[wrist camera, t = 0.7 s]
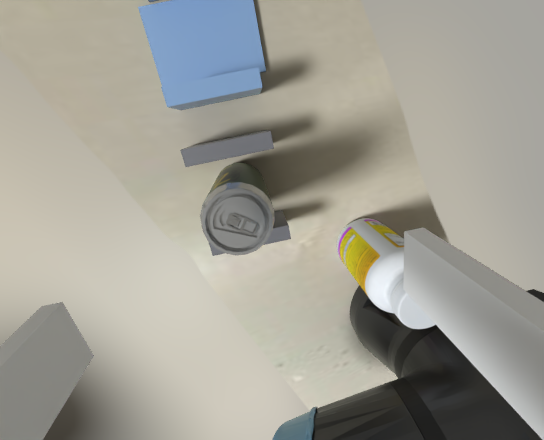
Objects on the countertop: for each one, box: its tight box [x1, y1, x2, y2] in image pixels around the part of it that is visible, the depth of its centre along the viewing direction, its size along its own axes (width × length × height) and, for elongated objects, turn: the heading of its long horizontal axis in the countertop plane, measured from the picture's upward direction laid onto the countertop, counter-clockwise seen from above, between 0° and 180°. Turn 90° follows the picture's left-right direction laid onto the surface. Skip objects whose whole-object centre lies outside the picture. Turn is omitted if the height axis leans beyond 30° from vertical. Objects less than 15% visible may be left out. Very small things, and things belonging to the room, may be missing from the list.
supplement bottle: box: [337, 218, 436, 329], centre depth 28 cm, size 7×7×13 cm
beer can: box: [200, 163, 275, 255], centre depth 24 cm, size 5×5×12 cm
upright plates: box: [148, 0, 291, 256], centre depth 25 cm, size 24×8×5 cm, turn 11°
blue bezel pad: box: [138, 0, 266, 87], centre depth 25 cm, size 7×10×1 cm
